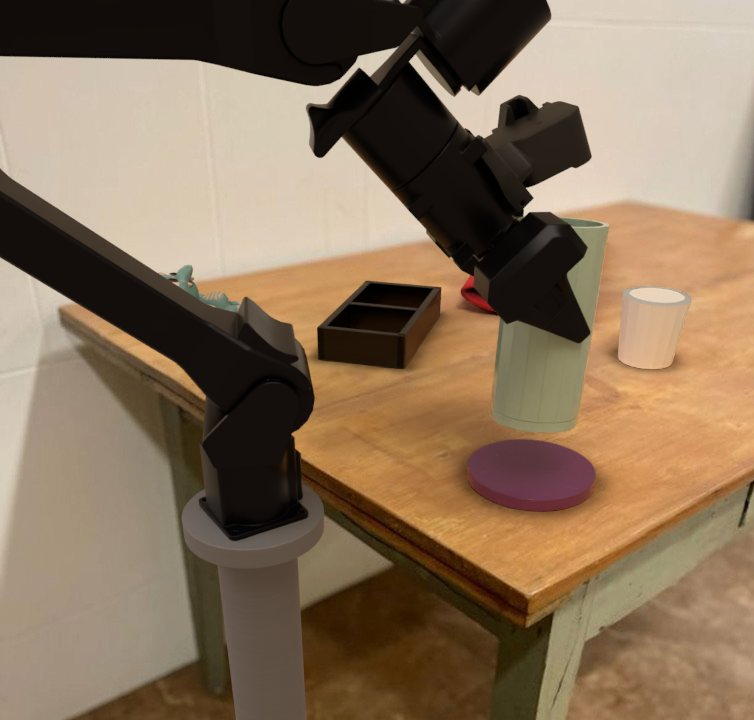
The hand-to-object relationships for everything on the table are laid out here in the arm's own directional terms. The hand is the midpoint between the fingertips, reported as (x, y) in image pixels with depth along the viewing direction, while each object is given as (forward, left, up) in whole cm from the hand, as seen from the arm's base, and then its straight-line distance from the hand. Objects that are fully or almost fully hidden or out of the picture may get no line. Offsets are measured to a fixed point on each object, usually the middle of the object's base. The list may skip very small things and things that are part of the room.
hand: (566, 321), depth 58 cm
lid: (-1, +1, -13) cm, 13 cm away
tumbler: (-2, 0, -7) cm, 7 cm away
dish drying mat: (+40, +45, -13) cm, 61 cm away
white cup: (+27, +14, -13) cm, 33 cm away
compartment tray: (+7, +34, -13) cm, 37 cm away
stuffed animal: (-9, +50, -13) cm, 52 cm away
